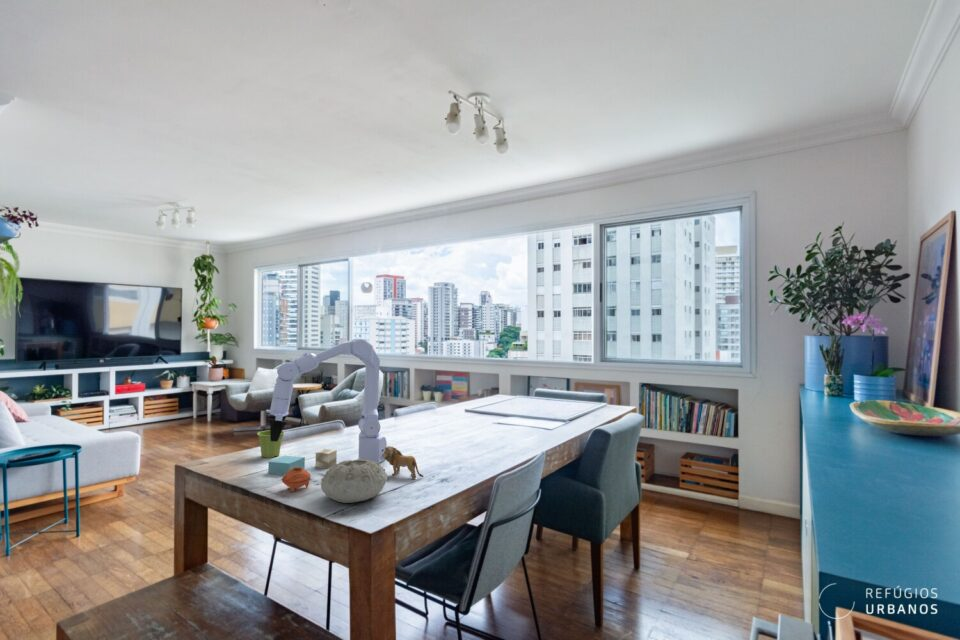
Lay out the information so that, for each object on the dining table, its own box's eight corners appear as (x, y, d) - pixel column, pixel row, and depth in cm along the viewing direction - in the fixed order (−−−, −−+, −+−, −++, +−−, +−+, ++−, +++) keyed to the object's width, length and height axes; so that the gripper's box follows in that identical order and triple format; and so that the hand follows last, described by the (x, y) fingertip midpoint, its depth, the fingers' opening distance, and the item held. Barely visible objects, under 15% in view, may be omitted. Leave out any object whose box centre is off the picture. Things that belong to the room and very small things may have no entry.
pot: (307, 481, 146) (309, 461, 145) (311, 495, 140) (313, 474, 138) (279, 484, 143) (281, 463, 142) (281, 498, 136) (283, 477, 135)
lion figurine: (379, 475, 154) (379, 447, 155) (388, 470, 159) (388, 443, 159) (419, 480, 149) (419, 451, 149) (427, 476, 154) (427, 448, 154)
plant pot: (285, 451, 183) (285, 429, 183) (283, 458, 174) (283, 434, 175) (258, 453, 180) (258, 430, 181) (255, 460, 171) (255, 435, 172)
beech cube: (336, 464, 167) (336, 450, 167) (328, 468, 162) (328, 453, 162) (324, 463, 168) (324, 449, 168) (315, 467, 163) (315, 452, 164)
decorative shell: (307, 500, 131) (307, 464, 131) (355, 483, 146) (355, 450, 146) (353, 514, 122) (354, 474, 122) (399, 494, 137) (400, 459, 137)
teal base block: (304, 469, 162) (304, 457, 162) (289, 475, 154) (289, 463, 154) (284, 467, 164) (284, 455, 164) (268, 473, 156) (268, 461, 156)
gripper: (268, 394, 165) (261, 433, 164) (269, 399, 152) (260, 442, 151) (290, 396, 168) (282, 435, 167) (292, 402, 155) (284, 444, 154)
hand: (273, 438), depth 159 cm, fingers open, 7 cm apart
